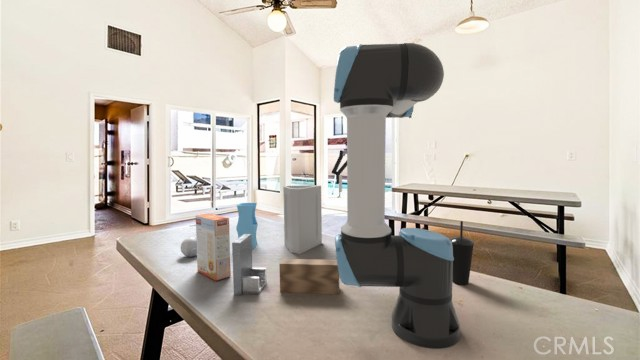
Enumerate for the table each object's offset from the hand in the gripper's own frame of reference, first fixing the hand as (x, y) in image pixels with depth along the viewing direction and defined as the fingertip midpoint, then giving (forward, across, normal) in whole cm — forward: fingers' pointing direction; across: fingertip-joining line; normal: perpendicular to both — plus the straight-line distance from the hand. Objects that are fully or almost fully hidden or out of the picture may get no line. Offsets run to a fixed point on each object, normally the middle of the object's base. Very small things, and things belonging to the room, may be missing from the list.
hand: (357, 191), depth 115 cm
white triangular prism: (+28, +30, -14) cm, 43 cm away
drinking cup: (+28, -35, +13) cm, 47 cm away
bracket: (+28, +30, +33) cm, 52 cm away
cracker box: (+28, +48, +25) cm, 61 cm away
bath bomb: (+28, +70, +10) cm, 76 cm away
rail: (+28, +11, +29) cm, 42 cm away
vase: (+28, +53, -9) cm, 60 cm away
